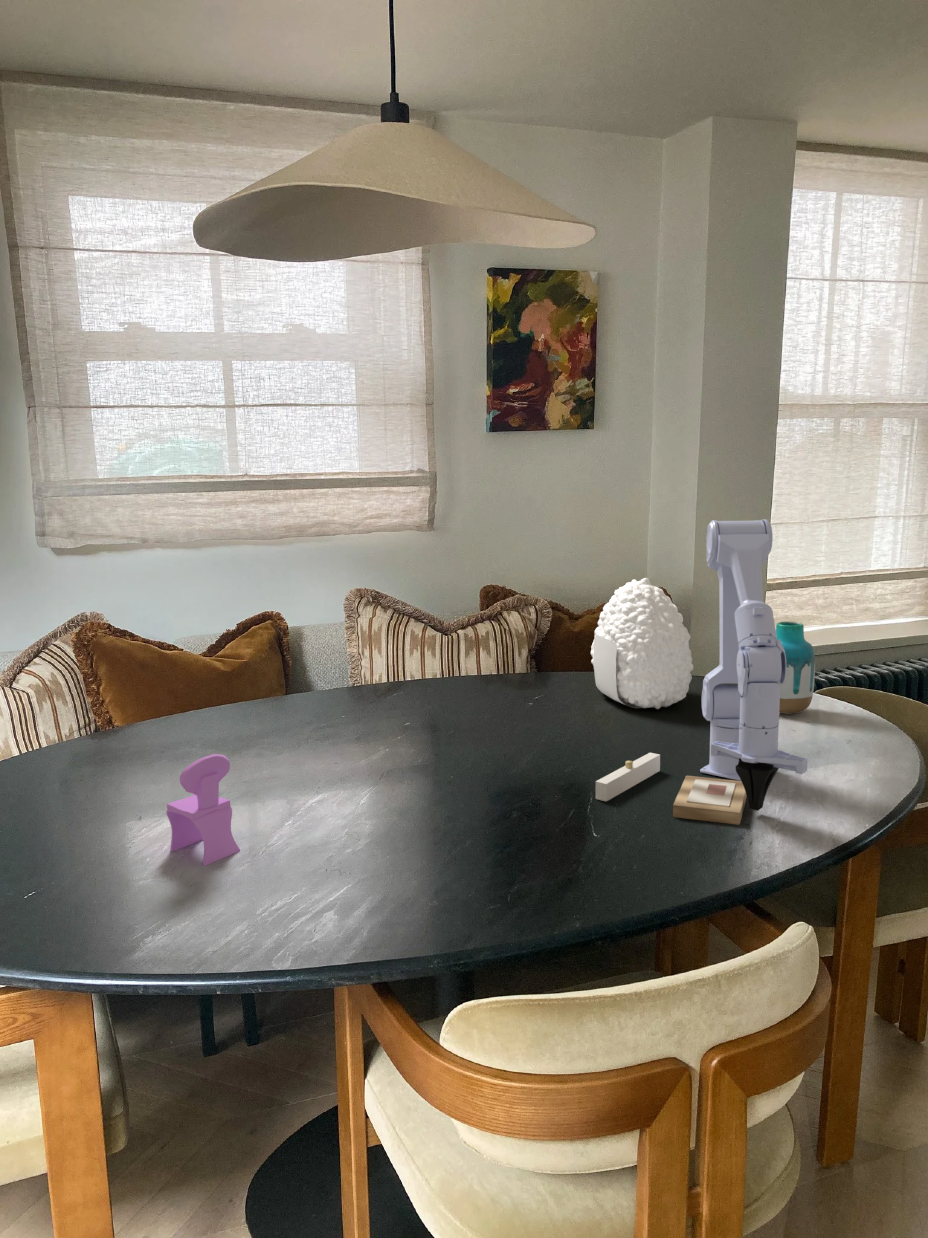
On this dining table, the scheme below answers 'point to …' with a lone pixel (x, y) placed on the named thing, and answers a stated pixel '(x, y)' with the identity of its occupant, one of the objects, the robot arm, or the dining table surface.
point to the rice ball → (642, 648)
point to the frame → (710, 800)
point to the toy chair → (203, 810)
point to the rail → (627, 776)
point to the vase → (796, 668)
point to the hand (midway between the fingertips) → (756, 808)
